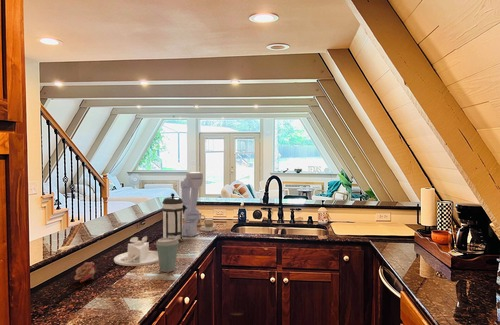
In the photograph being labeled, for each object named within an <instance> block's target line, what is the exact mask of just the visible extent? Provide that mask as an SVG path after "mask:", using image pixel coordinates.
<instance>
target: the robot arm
mask: <svg viewBox="0 0 500 325" xmlns="http://www.w3.org/2000/svg"><path fill="white" fill-rule="evenodd" d="M185 175H186V176H185V178H184V180H183V179H181V181H180V188H181V199H182V201H183V221H184V222H185V223H183V236H184V237H185V236H186V237H189V238H190V237H195V236H197V235H200V232H198V226H197V222H198V220H199V212H200V210H199V209H198V208H197V204H198V199H199V198H198V196H199V190H200V188H201V187H202V186H203V181H204V180H203V179H204V175H203V172H202V171H194V172H193V171H187V173H186V174H185Z"/></svg>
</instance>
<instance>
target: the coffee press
mask: <svg viewBox="0 0 500 325" xmlns="http://www.w3.org/2000/svg"><path fill="white" fill-rule="evenodd" d="M170 194H171V195H170V197H165V198H164V199H163V200H162V202H161V203H162V238H168V237H176V238H177V240H178V241H179V242H180V243H183V242H184V238H183V225H184V223H183V221H184V218H183V201H182V197H178V196H175V193H170Z"/></svg>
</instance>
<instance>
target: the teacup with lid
mask: <svg viewBox="0 0 500 325" xmlns="http://www.w3.org/2000/svg"><path fill="white" fill-rule="evenodd" d="M202 217H203V219H202ZM205 219H206V215H204V214H202V212H201V211H199V220H198V222H197V227H198V226H201V225H202V222H205Z"/></svg>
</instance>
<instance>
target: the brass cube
mask: <svg viewBox="0 0 500 325" xmlns="http://www.w3.org/2000/svg"><path fill="white" fill-rule="evenodd" d="M204 226H205V227H213V226H214V219H213V218H205V220H204Z"/></svg>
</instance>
